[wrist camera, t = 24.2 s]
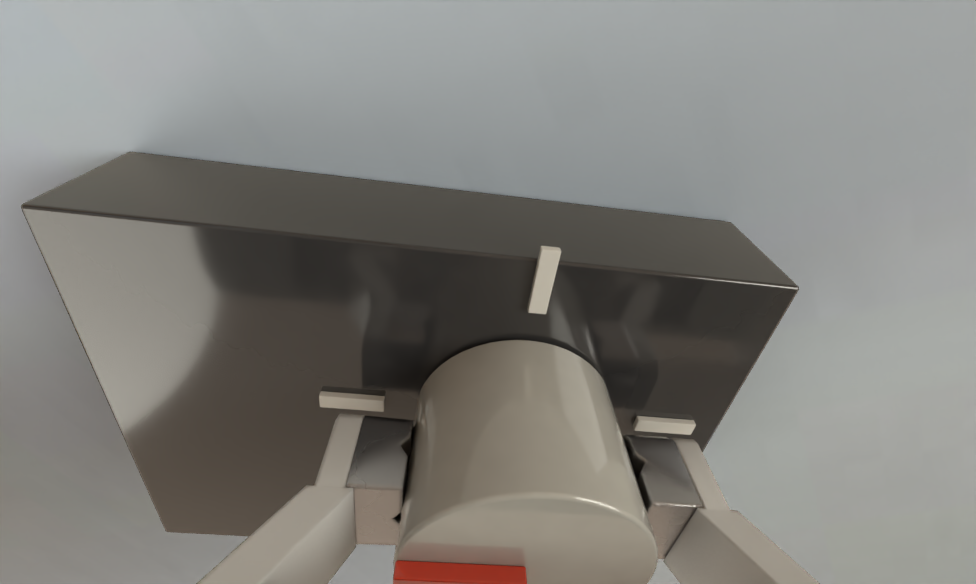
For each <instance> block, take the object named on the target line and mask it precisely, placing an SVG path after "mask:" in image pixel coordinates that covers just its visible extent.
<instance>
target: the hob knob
mask: <svg viewBox="0 0 976 584" xmlns="http://www.w3.org/2000/svg"><path fill="white" fill-rule="evenodd" d="M657 562H658V547H657V543H656V539H655V536H654V533H653V530H652V527H651V523H650V520H649V517H648V514H647V511H646V508H645V505H644V501H643V498H642V495H641V492H640V489H639V486H638V483H637V480H636V476H635V473H634V470H633V467H632V464H631V461H630V458H629V454H628V451H627V448H626V445H625V442H624V439H623V436H622V432H621V429H620V426H619V423H618V420H617V417H616V414H615V411H614V407H613V404H612V401H611V398H610V395H609V392H608V389H607V386H606V384H605V382H604V380H603V378H602V377H601V376H600V374H599V373H598V372H597V371H596V370H595V369H594V368H593V367H592V366H591V365H590V364H589V363H588V362H587V361H585V360H584V359H583V358H581V357H580V356H578V355H577V354H575V353H573V352H571V351H569V350H567V349H564V348H562V347H559V346H556V345H553V344H549V343H545V342H539V341H532V340H502V341H496V342H490V343H486V344H482V345H478V346H475V347H472V348H470V349H467V350H465V351H462V352H460V353H458V354H457V355H455V356H453V357H451V358H450V359H448V360H447V361H445V362H444V363H443V364H441V365H440V366H439V367H438V368H437V369H436V370H435V371H434V372H433V373H432V374H431V375H430V376H429V378H428V379H427V380H426V381H425V383H424V385H423V387H422V388H421V390H420V393H419V396H418V398H417V403H416V410H415V416H414V424H413V434H412V441H411V449H410V454H409V459H408V465H407V477H406V484H405V490H404V497H403V504H402V508H401V513H400V520H399V527H398V533H397V540H396V547H395V554H394V561H393V565H394V575H393V584H647V583H648V582H649V580H650V579H651V577H652V576H653V574H654V572H655V569H656V566H657Z"/></svg>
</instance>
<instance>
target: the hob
mask: <svg viewBox="0 0 976 584" xmlns="http://www.w3.org/2000/svg"><path fill="white" fill-rule="evenodd" d="M21 209H22V211H23V214H24V216H25V218H26V220H27V222H28V225H29V227H30V229H31V231H32V234H33V236H34V238H35V240H36V243H37V245H38V247H39V249H40V251H41V254H42V256H43V258H44V260H45V263H46V265H47V267H48V269H49V272H50V274H51V276H52V278H53V281H54V283H55V285H56V287H57V289H58V292H59V294H60V296H61V298H62V301H63V303H64V305H65V307H66V310H67V312H68V314H69V316H70V318H71V321H72V323H73V325H74V327H75V330H76V332H77V334H78V336H79V339H80V341H81V343H82V345H83V348H84V350H85V352H86V354H87V356H88V359H89V361H90V363H91V365H92V368H93V370H94V372H95V374H96V377H97V379H98V381H99V383H100V385H101V388H102V390H103V392H104V394H105V397H106V399H107V401H108V403H109V406H110V408H111V410H112V412H113V415H114V417H115V419H116V421H117V423H118V426H119V428H120V430H121V432H122V435H123V437H124V439H125V441H126V444H127V446H128V448H129V450H130V452H131V455H132V457H133V459H134V461H135V464H136V466H137V468H138V470H139V473H140V475H141V477H142V479H143V482H144V484H145V486H146V488H147V490H148V493H149V495H150V497H151V499H152V502H153V504H154V506H155V508H156V511H157V513H158V515H159V517H160V520H161V522H162V524H163V526H164V528H165V531H167V532H176V533H196V534H215V535H235V536H250V535H251V534H252V533H254V532H255V531H256V530H257V529H258V528H259V527H260V526H261V525H263V524H264V523H265V522H266V521H267V520H268V519H269V518H270V517H271V516H273V515H274V514H275V513H276V512H277V511H278V510H279V509H280V508H281V507H283V506H284V505H285V504H286V503H287V502H288V501H289V500H290V499H292V498H293V497H294V496H295V495H296V494H297V493H298V492H299V491H300V490H302V489H303V488H304V487H305V486H306V485H315V482H316V479H317V476H318V472H319V469H320V466H321V463H322V460H323V457H324V454H325V451H326V448H327V445H328V442H329V439H330V436H331V432H332V429H333V426H334V423H335V420H336V419H337V417H338V415H339V414H340V413H341V414H353V415H364V416H365V415H366V416H376V417H387V418H397V419H407V420H414V416H415V410H416V403H417V398H418V396H419V393H420V390H421V388H422V387H423V385H424V383H425V381H426V380H427V379H428V378H429V376H430V375H431V374H432V373H433V372H434V371H435V370H436V369H437V368H438V367H439V366H440V365H441V364H443V363H444V362H445V361H447V360H448V359H450V358H451V357H453V356H455V355H457V354H458V353H460V352H462V351H465V350H467V349H470V348H472V347H475V346H478V345H482V344H486V343H490V342H496V341H502V340H532V341H539V342H545V343H549V344H553V345H556V346H559V347H562V348H564V349H567V350H569V351H571V352H573V353H575V354H577V355H578V356H580V357H581V358H583V359H584V360H585V361H587V362H588V363H589V364H590V365H591V366H592V367H593V368H594V369H595V370H596V371H597V372H598V373H599V374H600V376H601V377H602V378H603V380H604V382H605V384H606V386H607V389H608V392H609V395H610V398H611V401H612V404H613V407H614V411H615V414H616V417H617V420H618V423H619V426H620V429H621V432H622V436H623V435H640V436H657V437H668V438H681V439H693V440H695V441H696V442H697V443H698V445H699V447H700V449H701V451H702V452H703V451H704V449H705V447H706V446H707V444H708V442H709V440H710V439H711V437H712V435H713V434H714V432H715V430H716V429H717V427H718V425H719V424H720V422H721V420H722V419H723V417H724V415H725V413H726V412H727V410H728V408H729V407H730V405H731V403H732V402H733V400H734V398H735V397H736V395H737V393H738V392H739V390H740V388H741V386H742V385H743V383H744V381H745V380H746V378H747V376H748V375H749V373H750V371H751V370H752V368H753V366H754V364H755V363H756V361H757V359H758V358H759V356H760V354H761V353H762V351H763V349H764V348H765V346H766V344H767V343H768V341H769V339H770V337H771V336H772V334H773V332H774V331H775V329H776V327H777V326H778V324H779V322H780V321H781V319H782V317H783V316H784V314H785V312H786V310H787V309H788V307H789V305H790V304H791V302H792V300H793V299H794V297H795V295H796V294H797V292H798V290H799V287H798V286H797V285H796V284H795V283H794V282H793V281H792V280H791V279H790V278H789V277H788V276H787V275H786V274H785V273H784V272H783V271H782V270H781V269H780V268H779V267H777V266H776V265H775V264H774V263H773V262H772V261H771V260H770V259H769V258H768V257H767V256H766V255H765V254H764V253H763V252H762V251H761V250H760V249H759V248H757V247H756V246H755V245H754V244H753V243H752V242H751V241H750V240H749V239H748V238H747V237H746V236H745V235H744V234H743V233H742V232H741V231H740V230H739V229H738V228H736V227H735V226H734V225H733V224H732V223H731V222H725V221H717V220H708V219H700V218H691V217H683V216H674V215H666V214H657V213H649V212H640V211H632V210H623V209H615V208H606V207H597V206H589V205H580V204H572V203H563V202H555V201H546V200H538V199H529V198H521V197H512V196H504V195H495V194H487V193H478V192H470V191H461V190H453V189H444V188H435V187H427V186H418V185H410V184H401V183H393V182H384V181H376V180H367V179H359V178H350V177H342V176H333V175H325V174H316V173H308V172H299V171H291V170H282V169H273V168H265V167H256V166H248V165H239V164H231V163H222V162H214V161H205V160H197V159H188V158H180V157H171V156H163V155H154V154H146V153H137V152H128V153H126V154H124V155H122V156H120V157H118V158H115V159H113V160H111V161H109V162H107V163H105V164H103V165H101V166H99V167H97V168H95V169H93V170H91V171H89V172H87V173H85V174H83V175H81V176H79V177H77V178H75V179H73V180H70V181H68V182H66V183H64V184H62V185H60V186H58V187H56V188H54V189H52V190H50V191H48V192H46V193H44V194H42V195H40V196H38V197H36V198H34V199H32V200H30V201H28V202H25V203H23V204H22V205H21Z"/></svg>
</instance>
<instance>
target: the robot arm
mask: <svg viewBox="0 0 976 584" xmlns="http://www.w3.org/2000/svg"><path fill="white" fill-rule="evenodd" d="M413 424H414V420H407V419H397V418H387V417H376V416H366V415H365V416H364V415H353V414H341V413H340V414H339V415H338V417H337V419H336V420H335V423H334V426H333V429H332V432H331V436H330V439H329V442H328V445H327V448H326V451H325V454H324V457H323V460H322V463H321V466H320V469H319V472H318V476H317V479H316V482H315V485H306V486H305V487H304V488H303V489H302V490H300V491H299V492H298V493H297V494H296V495H295V496H294V497H293V498H292V499H290V500H289V501H288V502H287V503H286V504H285V505H284V506H283V507H281V508H280V509H279V510H278V511H277V512H276V513H275V514H274V515H273V516H271V517H270V518H269V519H268V520H267V521H266V522H265V523H264V524H263V525H261V526H260V527H259V528H258V529H257V530H256V531H255V532H254V533H252V534H251V535H250V536H249V537H248V538H247V539H246V540H245V541H244V542H242V543H241V544H240V545H239V546H238V547H237V548H236V549H235V550H234V551H232V552H231V553H230V554H229V555H228V556H227V557H226V558H225V559H223V560H222V561H221V562H220V563H219V564H218V565H217V566H216V567H215V568H213V569H212V570H211V571H210V572H209V573H208V574H207V575H206V576H204V577H203V578H202V579H201V580H200V581H199V582H198V583H197V584H327V583H328V582H329V581H330V580H331V578H332V577H333V576H334V575H335V573H336V572H337V571H338V569H339V568H340V567H341V566H342V564H343V563H344V562H345V560H346V559H347V558H348V557H349V555H350V554H351V553H352V552H353V550H354V549H355V548H356V544H378V545H396V540H397V533H398V527H399V520H400V513H401V508H402V504H403V497H404V490H405V484H406V477H407V465H408V459H409V454H410V449H411V441H412V434H413ZM623 439H624V442H625V445H626V448H627V451H628V454H629V458H630V461H631V464H632V467H633V470H634V473H635V476H636V480H637V483H638V486H639V489H640V492H641V495H642V498H643V501H644V505H645V508H646V511H647V514H648V517H649V520H650V523H651V527H652V530H653V533H654V536H655V539H656V543H657V547H658V559H664V561H663V562H664V563H665V564H666V565H667V567H668V568H669V569H670V571H671V572H672V573H673V574H674V576H675V577H676V578H677V580H678V581H679V582H680V583H681V584H820V583H819V582H818V581H816V580H815V579H814V578H813V577H812V576H811V575H810V574H808V573H807V572H806V571H805V570H804V569H803V568H802V567H801V566H799V565H798V564H797V563H796V562H795V561H794V560H793V559H791V558H790V557H789V556H788V555H787V554H786V553H785V552H784V551H782V550H781V549H780V548H779V547H778V546H777V545H776V544H774V543H773V542H772V541H771V540H770V539H769V538H768V537H767V536H765V535H764V534H763V533H762V532H761V531H760V530H759V529H758V528H756V527H755V526H754V525H753V524H752V523H751V522H750V521H748V520H747V519H746V518H745V517H744V516H743V515H742V514H741V513H739V512H738V511H735V510H730V508H729V506H728V504H727V502H726V500H725V498H724V496H723V494H722V492H721V490H720V488H719V486H718V484H717V482H716V480H715V478H714V476H713V473H712V471H711V469H710V467H709V465H708V463H707V461H706V459H705V457H704V455H703V453H702V451H701V449H700V447H699V445H698V443H697V442H696V441H695V440H693V439H681V438H668V437H657V436H640V435H623Z"/></svg>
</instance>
